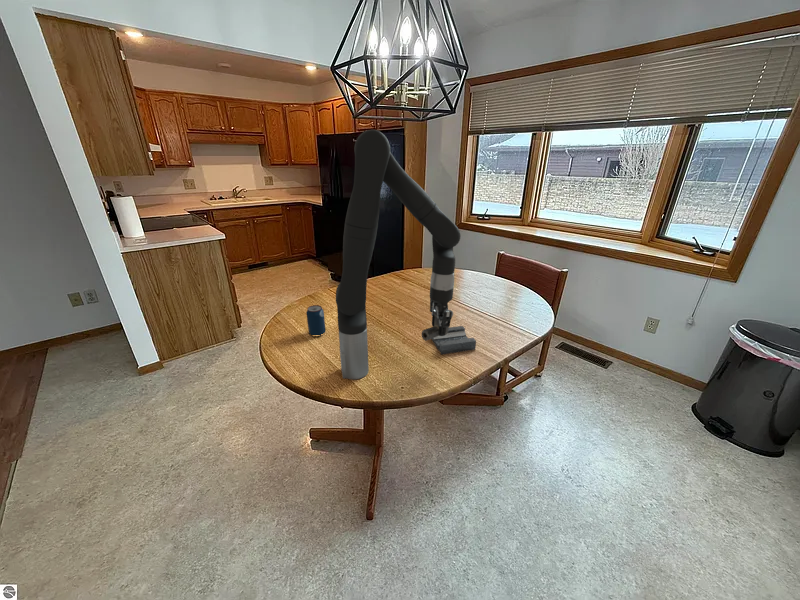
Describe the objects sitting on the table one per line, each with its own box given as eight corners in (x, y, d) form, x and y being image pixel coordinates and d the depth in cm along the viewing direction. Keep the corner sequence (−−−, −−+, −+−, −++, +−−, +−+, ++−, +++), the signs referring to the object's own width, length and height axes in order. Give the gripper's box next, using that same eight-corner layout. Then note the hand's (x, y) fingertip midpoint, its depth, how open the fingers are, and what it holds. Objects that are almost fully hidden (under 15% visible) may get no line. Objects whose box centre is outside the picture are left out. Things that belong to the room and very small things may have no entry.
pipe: (418, 338, 108) (419, 317, 105) (442, 327, 117) (444, 306, 113) (431, 346, 104) (433, 324, 101) (455, 333, 113) (458, 312, 109)
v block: (441, 354, 122) (442, 345, 121) (430, 338, 133) (430, 329, 132) (475, 349, 126) (476, 340, 124) (461, 334, 137) (462, 325, 135)
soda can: (329, 332, 137) (326, 307, 132) (317, 339, 132) (314, 313, 127) (317, 328, 141) (314, 303, 136) (305, 334, 135) (302, 309, 130)
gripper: (423, 278, 109) (421, 322, 116) (439, 294, 97) (435, 342, 103) (444, 276, 111) (441, 320, 118) (462, 292, 98) (456, 340, 105)
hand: (438, 330), depth 111 cm, fingers closed on pipe, 6 cm apart
